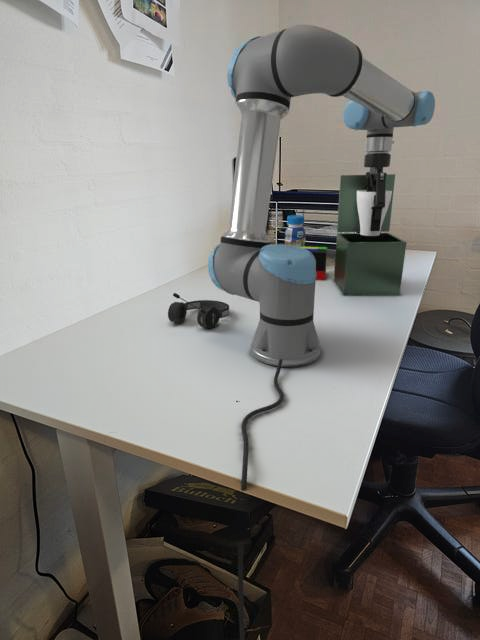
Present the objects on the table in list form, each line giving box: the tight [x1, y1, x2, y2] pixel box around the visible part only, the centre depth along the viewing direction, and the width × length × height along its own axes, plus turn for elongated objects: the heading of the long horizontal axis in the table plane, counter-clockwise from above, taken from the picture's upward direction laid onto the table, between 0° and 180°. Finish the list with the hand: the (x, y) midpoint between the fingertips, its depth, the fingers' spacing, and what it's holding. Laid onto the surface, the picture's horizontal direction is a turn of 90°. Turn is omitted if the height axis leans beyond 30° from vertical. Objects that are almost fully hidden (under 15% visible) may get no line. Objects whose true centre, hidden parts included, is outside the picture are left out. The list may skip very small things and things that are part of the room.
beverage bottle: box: [284, 214, 306, 247], centre depth 163 cm, size 8×8×20 cm
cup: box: [357, 190, 392, 236], centre depth 127 cm, size 10×10×14 cm
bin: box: [333, 232, 407, 296], centre depth 132 cm, size 18×18×17 cm
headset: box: [167, 292, 230, 329], centre depth 108 cm, size 14×10×20 cm
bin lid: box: [336, 173, 396, 233], centre depth 138 cm, size 18×18×8 cm
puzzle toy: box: [301, 246, 328, 281], centre depth 148 cm, size 10×10×10 cm
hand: (370, 228), depth 128 cm, fingers closed on cup, 10 cm apart
